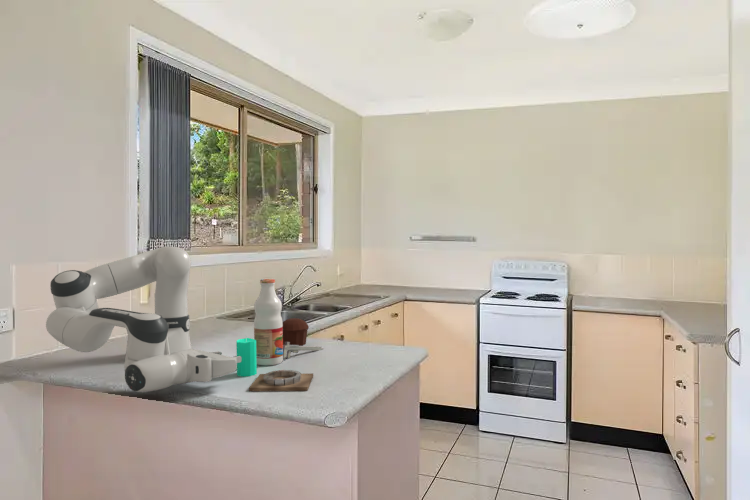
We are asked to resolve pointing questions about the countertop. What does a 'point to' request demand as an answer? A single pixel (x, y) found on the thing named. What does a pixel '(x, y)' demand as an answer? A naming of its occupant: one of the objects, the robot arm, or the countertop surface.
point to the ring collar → (271, 380)
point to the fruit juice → (268, 325)
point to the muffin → (295, 331)
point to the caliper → (297, 349)
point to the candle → (246, 357)
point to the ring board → (299, 386)
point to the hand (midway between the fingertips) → (229, 356)
